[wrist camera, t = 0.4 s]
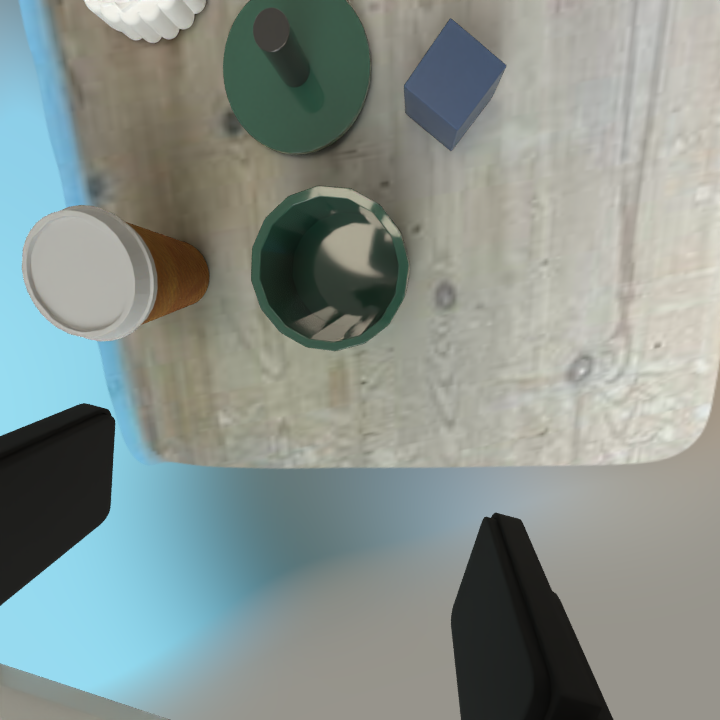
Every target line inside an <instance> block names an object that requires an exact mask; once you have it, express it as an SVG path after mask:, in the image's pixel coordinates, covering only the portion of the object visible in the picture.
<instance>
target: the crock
mask: <svg viewBox="0 0 720 720" xmlns="http://www.w3.org/2000/svg"><path fill="white" fill-rule="evenodd" d="M409 269H410V263H409V260H408V256H407V252H406V248H405V244H404V241H403V238H402V235H401V232H400V230H399V229H398V228H397V226H396V225H395V224H394V222H393V221H392V220H391V218H390V217H389V216H388V215H387V213H386V212H385V211H384V209H383V208H382V207H381V205H380V204H378V203H376V202H374V201H373V200H371V199H369V198H367V197H366V196H364V195H362V194H360V193H358V192H357V191H355V190H353V189H351V188H342V187H330V186H315V187H313V188H310V189H307V190H304V191H301V192H299V193H296V194H293V195H290V196H288V197H287V198H286V199H285V200H284V201H283V202H282V203H281V204H280V205H278V206H277V207H276V208H275V209H274V210H273V211H272V212H271V213H270V214H269V215H268V216H267V217H266V218H265V220H264V222H263V224H262V226H261V229H260V231H259V233H258V236H257V238H256V240H255V243H254V245H253V248H252V269H251V281H252V284H253V287H254V290H255V293H256V296H257V298H258V301H259V304H260V307H261V309H262V311H263V312H264V313H265V314H266V316H267V317H268V318H269V319H270V320H271V322H272V323H273V324H274V325H275V327H276V328H277V329H278V330H279V331H280V332H281V333H282V334H284V335H286V336H287V337H289V338H291V339H293V340H295V341H296V342H298V343H300V344H302V345H303V346H305V347H307V348H315V349H323V350H330V351H339V350H342V349H346V348H350V347H353V346H357V345H361V344H364V343H366V342H367V341H369V340H370V339H371V338H373V337H374V336H375V335H376V334H378V333H379V332H380V331H382V330H383V329H384V328H385V327H387V326H388V325H389V324H390V322H391V320H392V319H393V317H394V315H395V313H396V312H397V310H398V308H399V306H400V305H401V303H402V301H403V299H404V297H405V294H406V291H407V285H408V277H409Z"/></svg>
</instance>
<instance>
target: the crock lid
mask: <svg viewBox="0 0 720 720" xmlns="http://www.w3.org/2000/svg"><path fill="white" fill-rule="evenodd" d="M223 76H224V84H225V89H226V93H227V97H228V100H229V103H230V105H231V108H232V110H233V112H234V114H235V116H236V118H237V119H238V121H239V122H240V123H241V125H242V126H243V127H244V129H245V130H246V131H247V132H248V133H249V134H250V135H251V136H252V137H254V138H255V139H256V140H257V141H258V142H260V143H261V144H263V145H264V146H266V147H268V148H270V149H272V150H274V151H278V152H281V153H285V154H292V155H302V154H309V153H313V152H316V151H319V150H322V149H324V148H326V147H328V146H330V145H331V144H333V143H334V142H336V141H337V140H338V139H339V138H341V137H342V136H343V135H344V134H345V133H346V132H347V131H348V130H349V129H350V127H351V126H352V125H353V123H354V122H355V120H356V119H357V117H358V115H359V113H360V112H361V110H362V107H363V105H364V102H365V100H366V97H367V93H368V89H369V83H370V76H371V60H370V51H369V46H368V41H367V37H366V34H365V31H364V28H363V26H362V24H361V22H360V20H359V18H358V16H357V14H356V13H355V11H354V10H353V8H352V7H351V6H350V5H349V4H348V2H347V1H346V0H250V1H249V2H248V3H247V4H246V5H245V6H244V7H243V9H242V10H241V11H240V13H239V14H238V16H237V18H236V20H235V21H234V23H233V25H232V28H231V30H230V32H229V35H228V39H227V42H226V46H225V52H224V61H223Z"/></svg>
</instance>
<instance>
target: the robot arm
mask: <svg viewBox="0 0 720 720" xmlns="http://www.w3.org/2000/svg"><path fill="white" fill-rule="evenodd" d="M114 436H115V420H114V418H113V417H112V416H111V413H110V411H109V410H108V409H105V408H101V407H97V406H94V405H90V404H85V403H83V404H80V405H77V406H74V407H72V408H69V409H67V410H64V411H62V412H59V413H57V414H54V415H52V416H49V417H47V418H44V419H42V420H40V421H37V422H35V423H32V424H30V425H27V426H25V427H22V428H20V429H17V430H15V431H12V432H10V433H7V434H5V435H2V436H0V606H1V605H2V604H3V603H4V602H5V601H7V600H8V599H9V598H10V597H12V596H13V595H14V594H15V593H16V592H18V591H19V590H20V589H21V588H23V587H24V586H25V585H26V584H28V583H29V582H30V581H31V580H32V579H34V578H35V577H36V576H37V575H39V574H40V573H41V572H42V571H44V570H45V569H46V568H47V567H49V566H50V565H51V564H52V563H53V562H55V561H56V560H57V559H58V558H60V557H61V556H62V555H63V554H65V553H66V552H67V551H68V550H69V549H70V548H72V547H73V546H74V545H76V544H77V543H78V542H79V541H81V540H82V539H83V538H84V537H85V536H87V535H88V534H89V533H90V532H92V531H93V530H94V529H95V528H96V527H98V526H99V525H100V524H101V523H102V522H103V521H104V520H105V519H106V517H107V516H108V514H109V511H110V505H111V488H112V471H113V453H114ZM451 629H452V638H453V648H454V657H455V666H456V675H457V685H458V694H459V704H460V714H461V720H613V718H612V716H611V713H610V711H609V709H608V707H607V705H606V702H605V700H604V698H603V696H602V693H601V691H600V689H599V686H598V684H597V682H596V680H595V677H594V675H593V673H592V671H591V668H590V666H589V664H588V662H587V659H586V657H585V655H584V653H583V650H582V648H581V646H580V644H579V641H578V639H577V637H576V635H575V632H574V630H573V628H572V626H571V624H570V621H569V619H568V617H567V614H566V612H565V610H564V608H563V605H562V603H561V601H560V599H559V597H558V596H557V594H556V593H554V592H553V591H552V590H551V588H550V585H549V583H548V580H547V578H546V576H545V574H544V571H543V569H542V566H541V564H540V562H539V560H538V557H537V555H536V553H535V550H534V548H533V546H532V543H531V541H530V539H529V536H528V534H527V532H526V530H525V527H524V525H523V523H522V521H521V520H520V519H517V518H514V517H510V516H506V515H502V514H499V513H494V514H493V515H492V517H491V518H489V517H484V519H483V521H482V524H481V526H480V529H479V532H478V535H477V538H476V541H475V544H474V547H473V550H472V553H471V556H470V559H469V562H468V564H467V568H466V570H465V573H464V576H463V579H462V582H461V585H460V588H459V591H458V594H457V597H456V600H455V603H454V605H453V609H452V615H451ZM0 720H169V719H166V718H163V717H160V716H157V715H154V714H151V713H148V712H145V711H142V710H139V709H136V708H133V707H130V706H127V705H124V704H121V703H118V702H115V701H112V700H109V699H106V698H103V697H100V696H97V695H94V694H91V693H88V692H85V691H82V690H79V689H76V688H73V687H70V686H67V685H64V684H61V683H58V682H55V681H52V680H49V679H46V678H43V677H40V676H37V675H33V674H30V673H28V672H24V671H21V670H18V669H15V668H12V667H9V666H6V665H3V664H0Z"/></svg>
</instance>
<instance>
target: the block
mask: <svg viewBox="0 0 720 720" xmlns="http://www.w3.org/2000/svg"><path fill="white" fill-rule="evenodd" d="M505 68H506V65H505V64H504V63H503V62H502V61H501V60H500V59H498V58H497V57H496V56H495V55H494V54H492V53H491V52H490V51H489V50H488V49H487V48H485V47H484V46H483V45H482V44H481V43H480V42H478V41H477V40H476V39H475V38H474V37H472V36H471V35H470V34H469V33H468V32H467V31H465V30H464V29H463V28H462V27H461V26H460V25H458V24H457V23H456V22H455V21H454V20H452V19H451V18H450V19H449V21H448V22H447V24H446V25H445V27H444V28H443V29H442V31H441V32H440V34H439V35H438V37H437V38H436V40H435V41H434V43H433V44H432V45H431V47H430V48H429V50H428V51H427V53H426V54H425V56H424V57H423V59H422V60H421V61H420V63H419V64H418V66H417V67H416V69H415V70H414V72H413V73H412V75H411V76H410V78H409V79H408V80H407V82H406V83H405V85H404V96H405V113H406V114H407V115H408V116H409V117H411V118H412V119H413V120H414V121H415V122H417V123H418V124H419V125H420V126H421V127H423V128H424V129H425V130H426V131H427V132H429V133H430V134H431V135H432V136H433V137H435V138H436V139H437V140H438V141H439V142H441V143H442V144H443V145H444V146H445V147H447V148H448V149H449V150H450V151H452V150H453V148H454V147H455V146H456V144H457V143H458V142H459V140H460V139H461V138H462V136H463V135H464V134H465V132H466V131H467V130H468V129H469V127H470V126H471V125H472V123H473V122H474V121H475V119H476V118H477V117H478V115H479V114H480V113H481V111H482V110H483V109H484V107H485V106H486V105H487V103H488V102H489V101H490V99H491V98H492V96H493V94H494V92H495V90H496V88H497V85H498V83H499V81H500V79H501V77H502V75H503V72H504V70H505Z"/></svg>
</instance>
